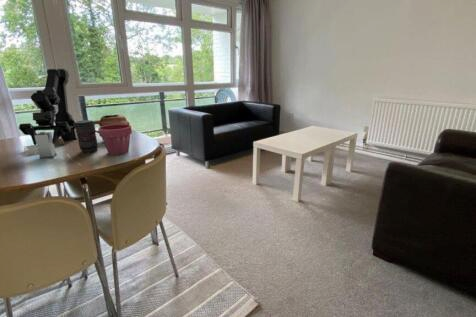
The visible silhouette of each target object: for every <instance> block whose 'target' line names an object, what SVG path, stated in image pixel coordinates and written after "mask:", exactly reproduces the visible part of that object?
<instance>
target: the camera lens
mask: <svg viewBox="0 0 476 317" xmlns="http://www.w3.org/2000/svg"><path fill="white" fill-rule="evenodd" d="M93 121H94V120H92V119H91V120H89V119H87V120H86V119H85V120H79V121H75V128H76V129H75V134H76V136H77V142H78V147H79V150H80V151H81V153H82V154H92V153H96V152H97V151H98V147H99V146H98V145H99V144H98V139H97V135H96V134H97V132H95V130H96V126H95V125H96V124H95V125H94V122H93Z"/></svg>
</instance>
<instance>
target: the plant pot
mask: <svg viewBox="0 0 476 317" xmlns="http://www.w3.org/2000/svg"><path fill="white" fill-rule="evenodd" d="M97 129H98V130H97V131H99V133H98V135H99V137H101V139H102V142H103V143H104V146H105V148H106V149H105V150H107V153H108V155H111V156H120V155H125V154H127V153H129V150H130V140H131V135H132V133H133V132H132V131H133V130H132V126H131V125H130V124H129V125H127V124H113V125H105V126H101V127H100V126H99V127H98V128H97Z"/></svg>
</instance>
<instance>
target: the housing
mask: <svg viewBox="0 0 476 317" xmlns="http://www.w3.org/2000/svg"><path fill="white" fill-rule="evenodd" d="M52 134H53V133H52V132H51V131H50V132H47V131H42V132H38V133H37V134H36V135H34V136H35V139H36V145H37V147H38V151H39V154H38V155H39V160H48V159H54V158H55V157H56V156H58V154H57V151H56V149H55V148H56V147H54V144H53V143H52V139H53V135H52Z"/></svg>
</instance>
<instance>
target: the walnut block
mask: <svg viewBox="0 0 476 317" xmlns="http://www.w3.org/2000/svg"><path fill="white" fill-rule="evenodd" d="M64 142H65V141H63V139H61V137H60V138H59V139H58V140H57V141H56V142H55V144H54V147H55V148H58V147H63V146H65V143H64Z"/></svg>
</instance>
